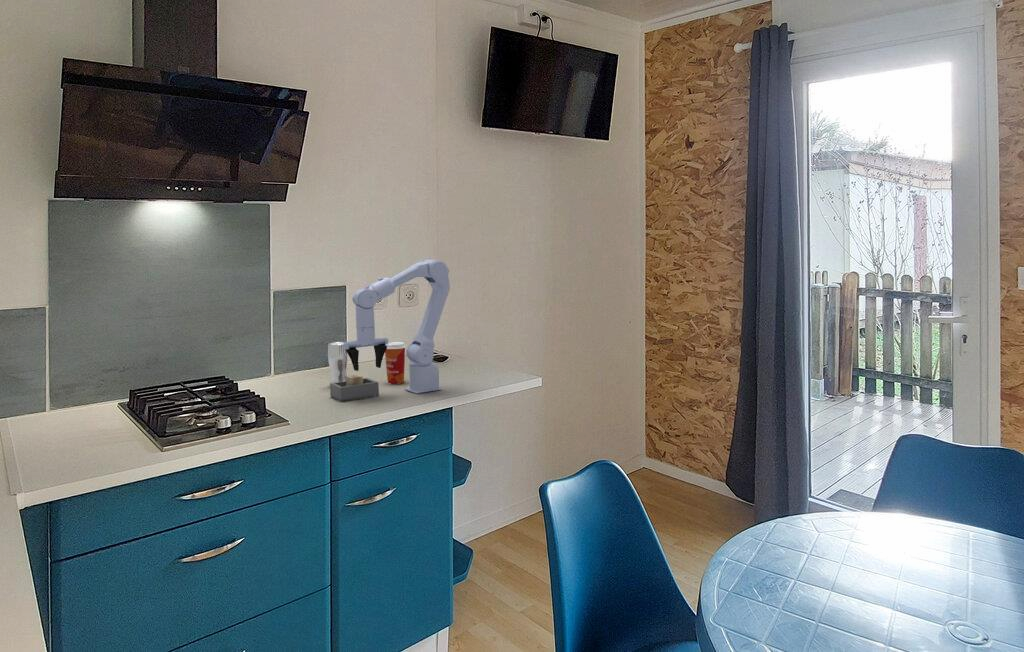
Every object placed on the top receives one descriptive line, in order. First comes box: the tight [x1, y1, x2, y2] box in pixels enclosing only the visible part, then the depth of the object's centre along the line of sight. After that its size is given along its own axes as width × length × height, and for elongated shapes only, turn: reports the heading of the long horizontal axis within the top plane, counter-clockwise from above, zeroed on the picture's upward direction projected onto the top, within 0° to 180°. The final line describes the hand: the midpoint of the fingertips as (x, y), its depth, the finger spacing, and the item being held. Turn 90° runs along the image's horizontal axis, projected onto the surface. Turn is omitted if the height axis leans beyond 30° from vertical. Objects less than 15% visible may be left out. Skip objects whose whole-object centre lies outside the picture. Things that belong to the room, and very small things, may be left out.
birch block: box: [346, 374, 364, 386], centre depth 222 cm, size 4×4×6 cm
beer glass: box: [327, 341, 350, 383], centre depth 236 cm, size 7×7×15 cm
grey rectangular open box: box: [329, 377, 380, 403], centre depth 222 cm, size 13×8×4 cm, turn 126°
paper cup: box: [384, 341, 406, 385], centre depth 241 cm, size 8×8×14 cm
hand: (367, 368), depth 220 cm, fingers open, 7 cm apart
